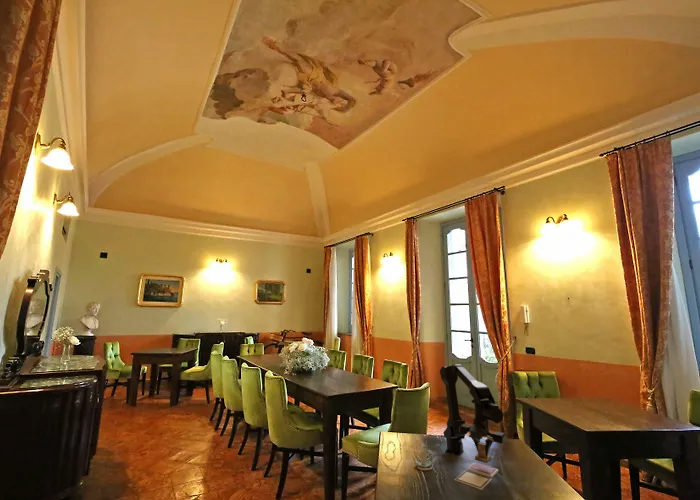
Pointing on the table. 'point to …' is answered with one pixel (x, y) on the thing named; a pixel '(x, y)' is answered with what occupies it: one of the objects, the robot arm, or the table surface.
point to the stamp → (482, 453)
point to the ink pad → (483, 469)
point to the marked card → (473, 479)
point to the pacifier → (424, 462)
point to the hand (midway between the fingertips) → (482, 454)
